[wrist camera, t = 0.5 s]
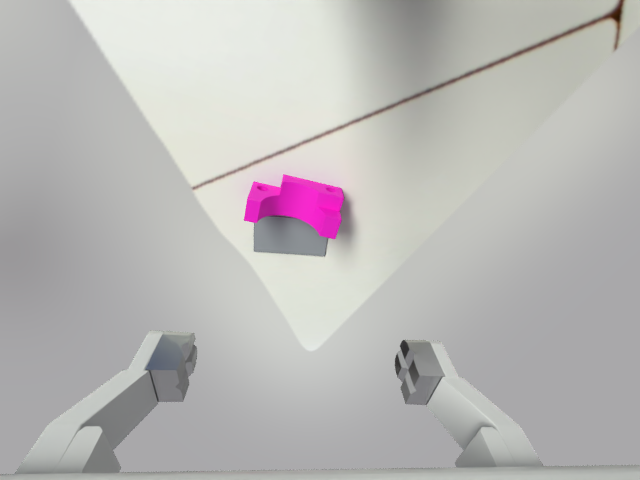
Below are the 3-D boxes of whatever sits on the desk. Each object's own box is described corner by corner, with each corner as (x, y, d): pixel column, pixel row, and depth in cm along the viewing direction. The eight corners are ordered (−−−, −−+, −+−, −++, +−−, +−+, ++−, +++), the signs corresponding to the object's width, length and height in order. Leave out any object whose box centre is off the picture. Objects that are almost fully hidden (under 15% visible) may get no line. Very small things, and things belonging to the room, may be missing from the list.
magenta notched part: (340, 187, 53) (346, 206, 46) (331, 218, 56) (334, 239, 50) (256, 167, 50) (249, 183, 44) (250, 200, 53) (243, 220, 47)
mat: (254, 214, 54) (254, 215, 54) (329, 220, 56) (330, 221, 56) (254, 250, 58) (253, 251, 58) (324, 255, 60) (324, 256, 60)
